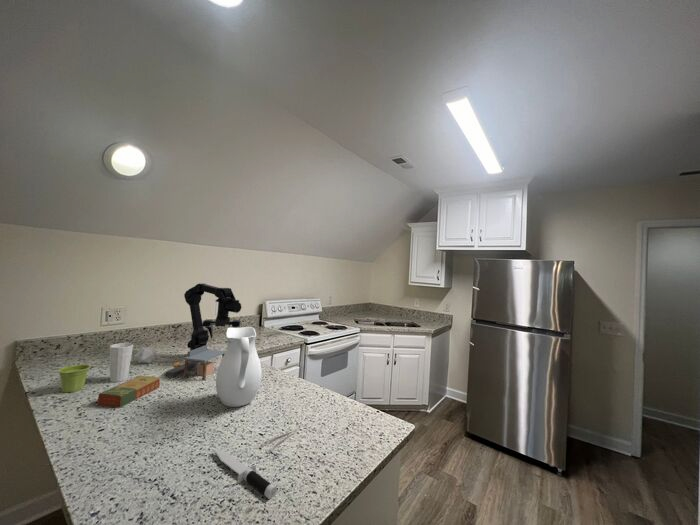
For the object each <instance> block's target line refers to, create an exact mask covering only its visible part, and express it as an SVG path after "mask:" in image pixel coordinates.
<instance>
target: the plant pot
mask: <svg viewBox="0 0 700 525" xmlns="http://www.w3.org/2000/svg"><path fill="white" fill-rule="evenodd" d="M89 369H91V365H89V364H77V365H76V364H75V365H69V366H65V367H62V368H60V369H59V370H57V373H59V376H60V382H61V391H62V393H65V394H66V393H69V392H70V393H76V392H77V391H80V390H83V388H84V387H85V383H86V379H87V376H88V375H87V374H88V372H89Z"/></svg>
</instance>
